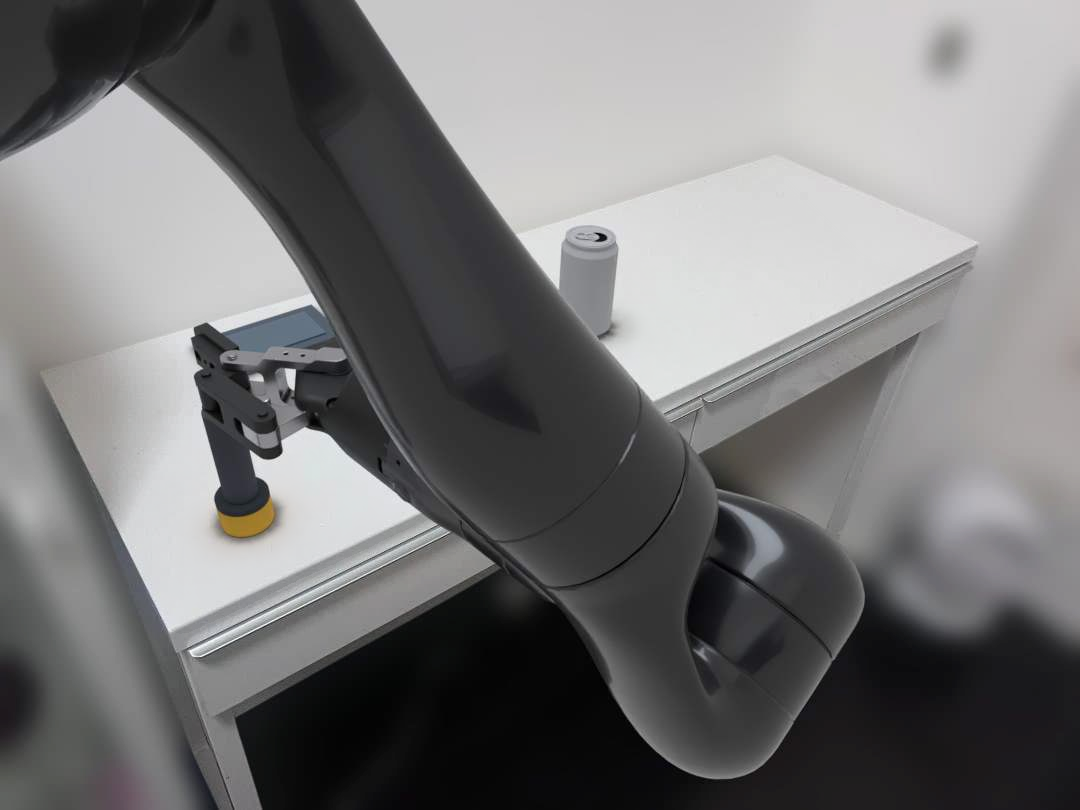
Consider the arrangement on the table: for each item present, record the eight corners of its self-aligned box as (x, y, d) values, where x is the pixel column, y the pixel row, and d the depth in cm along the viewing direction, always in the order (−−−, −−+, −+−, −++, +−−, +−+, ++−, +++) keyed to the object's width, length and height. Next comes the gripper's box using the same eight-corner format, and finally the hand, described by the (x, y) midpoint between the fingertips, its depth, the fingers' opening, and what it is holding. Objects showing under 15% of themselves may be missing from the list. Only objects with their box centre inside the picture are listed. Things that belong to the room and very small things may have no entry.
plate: (223, 383, 85) (221, 374, 84) (196, 348, 90) (193, 340, 89) (344, 341, 92) (343, 332, 91) (312, 311, 97) (311, 303, 96)
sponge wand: (217, 539, 68) (184, 428, 60) (225, 502, 71) (195, 393, 64) (271, 535, 68) (245, 425, 61) (277, 498, 72) (253, 390, 64)
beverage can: (611, 343, 94) (622, 249, 87) (556, 340, 94) (562, 246, 86) (608, 314, 99) (618, 223, 92) (556, 312, 99) (561, 221, 91)
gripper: (550, 321, 42) (358, 220, 50) (319, 444, 33) (134, 298, 42) (543, 432, 47) (368, 322, 55) (338, 565, 38) (168, 411, 46)
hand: (267, 312), depth 48 cm, fingers open, 8 cm apart
